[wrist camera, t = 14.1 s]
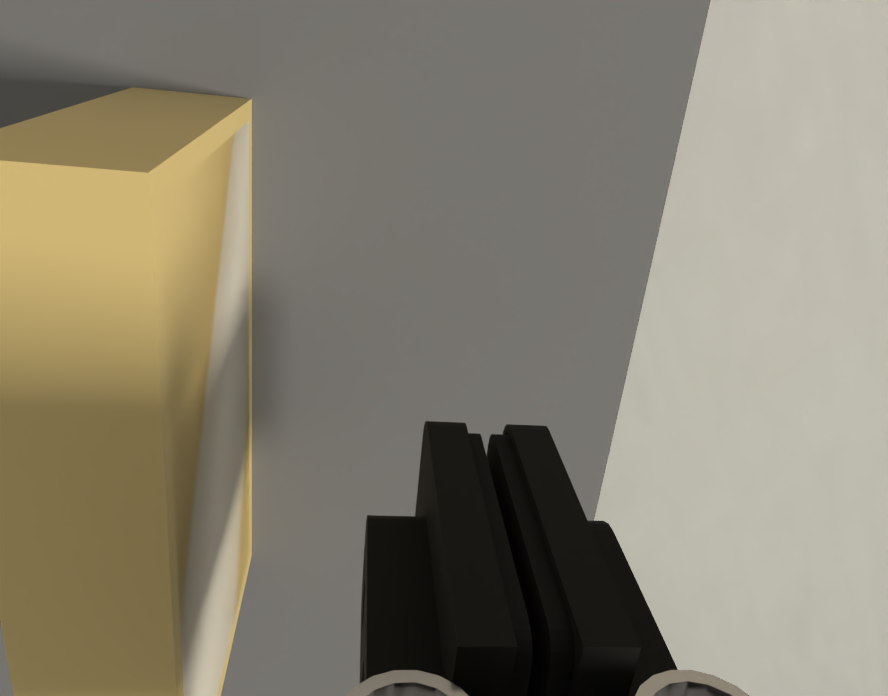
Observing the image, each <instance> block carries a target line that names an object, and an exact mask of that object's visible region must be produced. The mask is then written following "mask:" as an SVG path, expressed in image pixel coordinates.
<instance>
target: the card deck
mask: <svg viewBox="0 0 888 696" xmlns="http://www.w3.org/2000/svg"><path fill="white" fill-rule="evenodd" d="M251 557H252V99H249V98H238V97H228V96H218V95H208V94H197V93H187V92H177V91H166V90H156V89H146V88H135V87H132V88H129V89H125V90H122V91H119V92H116V93H112V94H109V95H106V96H103V97H100V98H96V99H93V100H90V101H87V102H83V103H80V104H77V105H74V106H71V107H67V108H64V109H61V110H58V111H54V112H51V113H48V114H45V115H41V116H38V117H35V118H32V119H29V120H25V121H22V122H19V123H16V124H12V125H9V126H6V127H3V128H0V621H1V627H2V633H3V638H4V644H5V650H6V656H7V661H8V667H9V673H10V678H11V684H12V690H13V696H221V692H222V688H223V683H224V679H225V674H226V670H227V665H228V661H229V656H230V652H231V647H232V643H233V638H234V633H235V629H236V624H237V620H238V615H239V611H240V606H241V602H242V597H243V593H244V588H245V584H246V579H247V575H248V570H249V566H250V561H251Z"/></svg>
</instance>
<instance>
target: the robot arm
mask: <svg viewBox="0 0 888 696" xmlns="http://www.w3.org/2000/svg"><path fill="white" fill-rule="evenodd" d="M346 696H749V695H748V694H746V693H745V692H744V691H742V690H741V689H740V688H738V687H737V686H735V685H733V684H731V683H729V682H727V681H724V680H722V679H720V678H718V677H716V676H714V675H710V674H706V673H702V672H697V671H693V670H678V669H677V667H676V665H675V663H674V661H673V659H672V657H671V654H670V652H669V650H668V648H667V646H666V644H665V641H664V639H663V637H662V635H661V633H660V631H659V629H658V626H657V624H656V622H655V620H654V618H653V616H652V614H651V611H650V609H649V607H648V605H647V603H646V601H645V599H644V596H643V594H642V592H641V590H640V588H639V586H638V584H637V581H636V579H635V577H634V575H633V573H632V571H631V569H630V566H629V564H628V562H627V560H626V558H625V556H624V553H623V551H622V549H621V547H620V545H619V543H618V541H617V538H616V536H615V534H614V532H613V530H612V529H611V527H610V526H609V524H608V523H606V522H604V521H588V520H587V518H586V516H585V513H584V511H583V509H582V506H581V504H580V502H579V499H578V497H577V495H576V492H575V490H574V488H573V485H572V483H571V480H570V478H569V476H568V473H567V471H566V469H565V466H564V464H563V462H562V459H561V457H560V455H559V452H558V450H557V448H556V445H555V443H554V441H553V438H552V436H551V433H550V431H549V429H548V428H547V426H537V425H512V424H507V425H506V426H505V428H504V431H503V434H491V436H490V438H489V443H488V449H487V456H486V452H485V448H484V444H483V441H482V437H481V434H477V433H468V430H467V426H466V423H461V422H436V421H425V424H424V430H423V438H422V449H421V459H420V470H419V480H418V490H417V501H416V511H415V516H376V515H367V519H366V531H365V546H364V561H363V579H362V601H361V637H360V684H358V685H357V686H355V687H353V688H352V690H351V691H350V692H349V693H348V694H347V695H346Z"/></svg>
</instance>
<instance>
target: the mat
mask: <svg viewBox="0 0 888 696" xmlns="http://www.w3.org/2000/svg"><path fill="white" fill-rule="evenodd" d="M709 4H710V0H0V128H3V127H6V126H9V125H12V124H16V123H19V122H22V121H25V120H29V119H32V118H35V117H38V116H41V115H45V114H48V113H51V112H54V111H58V110H61V109H64V108H67V107H71V106H74V105H77V104H80V103H83V102H87V101H90V100H93V99H96V98H100V97H103V96H106V95H109V94H112V93H116V92H119V91H122V90H125V89H129V88H132V87H135V88H146V89H156V90H166V91H177V92H187V93H197V94H208V95H218V96H228V97H238V98H249V99H252V557H251V561H250V566H249V570H248V575H247V579H246V584H245V588H244V593H243V597H242V602H241V606H240V611H239V615H238V620H237V624H236V629H235V633H234V638H233V643H232V647H231V652H230V656H229V661H228V665H227V670H226V674H225V679H224V683H223V688H222V692H221V696H346V695H347V694H348V693H349V692H350V691H351V690H352V688H353V687H355V686H357V685H358V684H360V637H361V601H362V579H363V561H364V546H365V531H366V519H367V515H376V516H415V511H416V501H417V490H418V480H419V470H420V459H421V449H422V438H423V430H424V424H425V421H436V422H461V423H466V426H467V430H468V433H477V434H481V437H482V441H483V444H484V448H485V452H486V456H487V449H488V443H489V438H490V436H491V434H503V431H504V428H505V426H506V425H507V424H512V425H537V426H547V428H548V429H549V431H550V433H551V436H552V438H553V441H554V443H555V445H556V448H557V450H558V452H559V455H560V457H561V459H562V462H563V464H564V466H565V469H566V471H567V473H568V476H569V478H570V480H571V483H572V485H573V488H574V490H575V492H576V495H577V497H578V499H579V502H580V504H581V506H582V509H583V511H584V513H585V516H586V518H587V520H588V521H594V517H595V513H596V508H597V504H598V499H599V495H600V490H601V486H602V482H603V477H604V473H605V468H606V464H607V459H608V455H609V450H610V446H611V441H612V437H613V433H614V428H615V424H616V419H617V415H618V410H619V406H620V401H621V397H622V392H623V388H624V383H625V379H626V375H627V370H628V366H629V361H630V357H631V352H632V348H633V343H634V339H635V334H636V330H637V326H638V321H639V317H640V312H641V308H642V303H643V299H644V294H645V290H646V285H647V281H648V276H649V272H650V268H651V263H652V259H653V254H654V250H655V245H656V241H657V236H658V232H659V227H660V223H661V219H662V214H663V210H664V205H665V201H666V196H667V192H668V187H669V183H670V178H671V174H672V169H673V165H674V161H675V156H676V152H677V147H678V143H679V138H680V134H681V129H682V125H683V120H684V116H685V111H686V107H687V103H688V98H689V94H690V89H691V85H692V80H693V76H694V71H695V67H696V62H697V58H698V54H699V49H700V45H701V40H702V36H703V31H704V27H705V22H706V18H707V13H708V9H709ZM0 696H13V690H12V684H11V678H10V673H9V667H8V661H7V656H6V650H5V644H4V638H3V633H2V627H1V621H0Z"/></svg>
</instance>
